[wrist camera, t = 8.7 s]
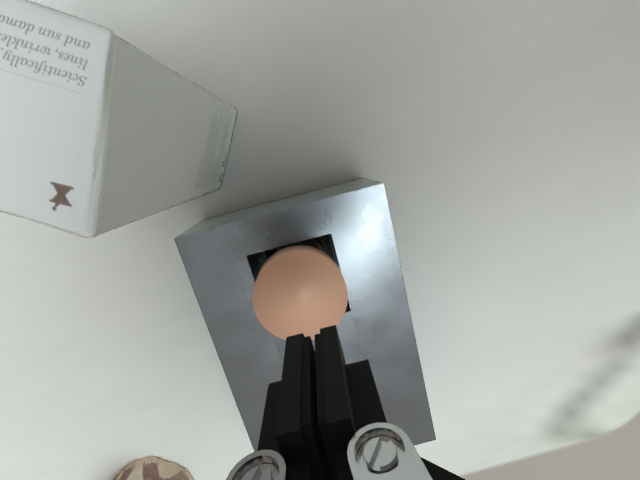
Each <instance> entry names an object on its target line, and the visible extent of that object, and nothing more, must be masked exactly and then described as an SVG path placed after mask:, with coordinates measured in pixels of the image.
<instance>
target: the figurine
mask: <svg viewBox="0 0 640 480" xmlns="http://www.w3.org/2000/svg"><path fill="white" fill-rule="evenodd" d="M115 480H194V479H193V477H192V475H191V474H190V472H189V471H188V470H187V469H186V468H184V467H181V466H180V465H178V464H176V463H174V462H170V461H167V460H162V459H160V458H157V457H155V456H147V457H145V458H142V459H137V460H133V461H130V462H129V463H128V464H127V466H126V467H125V468H124V469H123V470H122V471H121V473H120V474H119V475H118V476H117V477H116V479H115Z"/></svg>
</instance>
